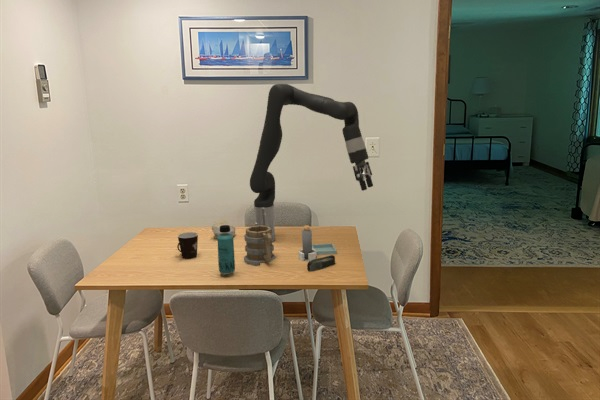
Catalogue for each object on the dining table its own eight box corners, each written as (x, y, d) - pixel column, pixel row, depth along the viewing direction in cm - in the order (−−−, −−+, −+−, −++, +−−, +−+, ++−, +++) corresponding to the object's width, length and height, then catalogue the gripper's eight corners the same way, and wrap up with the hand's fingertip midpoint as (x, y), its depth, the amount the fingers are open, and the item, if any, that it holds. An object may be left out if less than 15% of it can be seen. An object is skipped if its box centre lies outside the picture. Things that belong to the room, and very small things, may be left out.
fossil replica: (240, 236, 236) (224, 235, 240) (238, 219, 235) (222, 219, 239) (226, 241, 225) (209, 240, 230) (224, 224, 224) (207, 223, 229)
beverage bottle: (219, 272, 188) (216, 223, 183) (236, 271, 188) (233, 223, 184) (218, 278, 181) (214, 228, 177) (235, 277, 182) (232, 227, 177)
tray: (313, 257, 202) (313, 251, 201) (310, 249, 211) (310, 244, 211) (336, 256, 202) (336, 250, 202) (332, 248, 212) (332, 243, 212)
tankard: (241, 257, 203) (239, 224, 200) (269, 253, 208) (268, 220, 205) (254, 273, 185) (252, 237, 182) (284, 268, 190) (283, 232, 187)
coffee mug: (192, 252, 212) (191, 231, 210) (203, 256, 206) (201, 234, 204) (169, 258, 204) (167, 236, 202) (179, 263, 198) (177, 240, 196)
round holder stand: (305, 264, 193) (305, 255, 192) (295, 259, 199) (294, 250, 198) (320, 260, 197) (320, 251, 197) (309, 255, 203) (309, 247, 203)
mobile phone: (331, 253, 192) (303, 261, 183) (336, 255, 190) (308, 263, 180) (331, 265, 193) (303, 273, 184) (336, 267, 191) (308, 275, 181)
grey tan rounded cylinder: (303, 259, 196) (302, 227, 193) (302, 256, 200) (301, 225, 197) (312, 259, 196) (312, 227, 193) (311, 256, 200) (310, 224, 197)
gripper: (353, 151, 198) (364, 188, 199) (342, 154, 185) (353, 193, 186) (370, 146, 195) (381, 183, 195) (359, 148, 182) (371, 188, 183)
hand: (367, 188), depth 191 cm, fingers open, 8 cm apart
